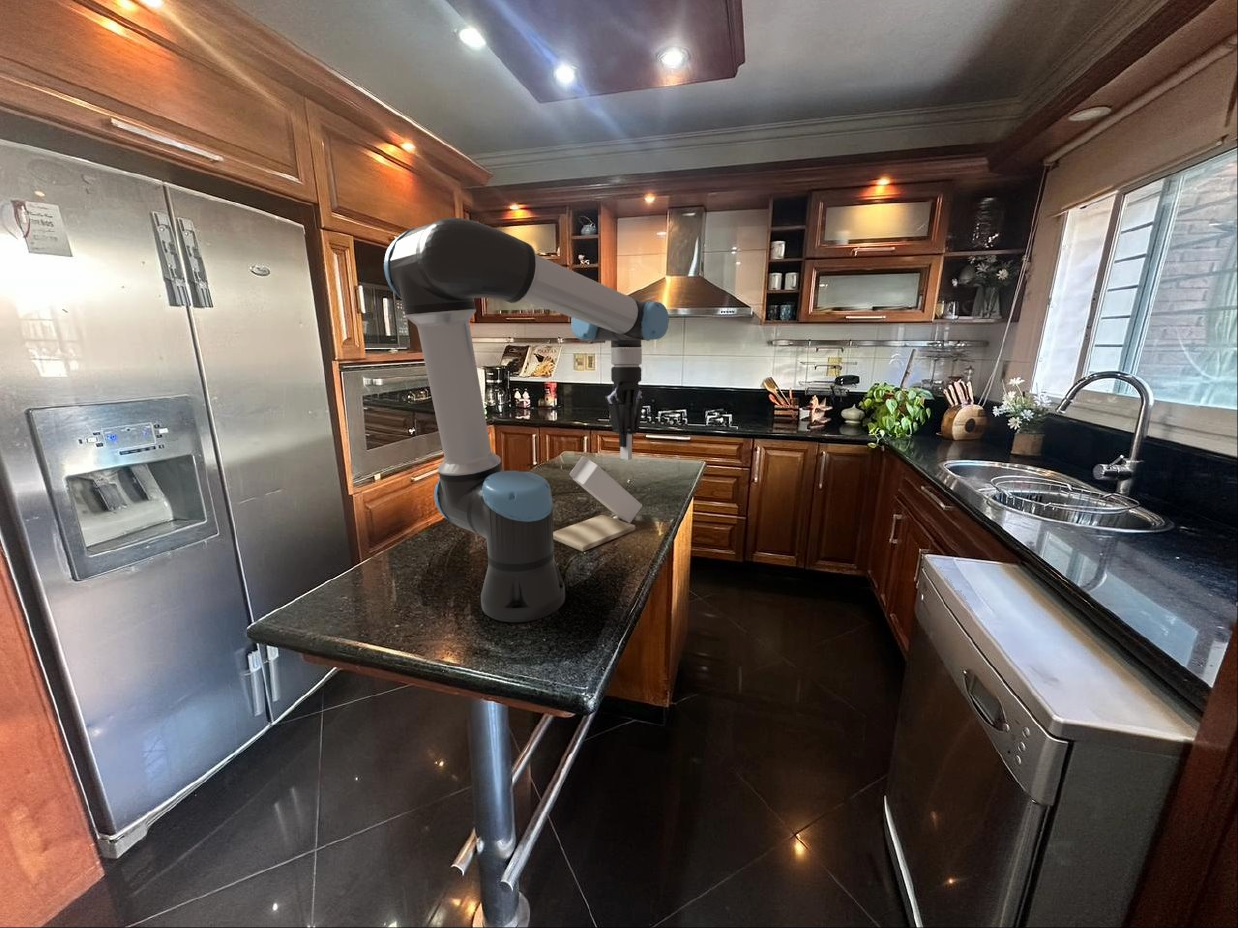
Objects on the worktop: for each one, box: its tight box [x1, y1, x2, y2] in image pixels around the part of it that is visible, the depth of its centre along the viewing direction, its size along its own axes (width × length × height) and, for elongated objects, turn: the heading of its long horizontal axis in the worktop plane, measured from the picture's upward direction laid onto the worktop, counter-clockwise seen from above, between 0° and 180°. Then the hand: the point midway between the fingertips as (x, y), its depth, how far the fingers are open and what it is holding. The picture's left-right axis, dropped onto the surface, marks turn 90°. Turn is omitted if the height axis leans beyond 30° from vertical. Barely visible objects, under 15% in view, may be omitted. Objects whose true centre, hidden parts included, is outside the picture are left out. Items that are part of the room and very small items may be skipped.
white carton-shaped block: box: [569, 455, 643, 524], centre depth 123 cm, size 6×6×22 cm
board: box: [553, 514, 636, 552], centre depth 119 cm, size 18×12×1 cm, turn 137°
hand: (626, 458), depth 124 cm, fingers closed
